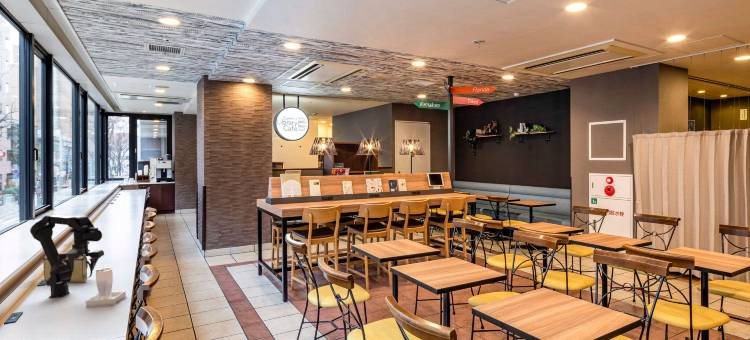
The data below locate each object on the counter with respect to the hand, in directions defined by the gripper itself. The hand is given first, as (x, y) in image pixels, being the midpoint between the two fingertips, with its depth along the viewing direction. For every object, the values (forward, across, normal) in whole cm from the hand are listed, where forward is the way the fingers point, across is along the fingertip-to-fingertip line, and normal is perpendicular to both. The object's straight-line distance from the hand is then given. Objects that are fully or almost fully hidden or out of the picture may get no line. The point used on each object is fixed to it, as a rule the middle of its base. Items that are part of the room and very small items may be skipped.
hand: (82, 271), depth 205 cm
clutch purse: (+13, -26, +34) cm, 45 cm away
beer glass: (+12, +16, -10) cm, 22 cm away
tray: (+13, +16, -10) cm, 23 cm away
